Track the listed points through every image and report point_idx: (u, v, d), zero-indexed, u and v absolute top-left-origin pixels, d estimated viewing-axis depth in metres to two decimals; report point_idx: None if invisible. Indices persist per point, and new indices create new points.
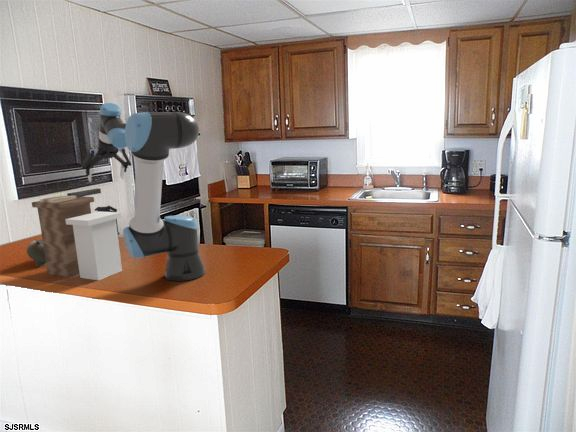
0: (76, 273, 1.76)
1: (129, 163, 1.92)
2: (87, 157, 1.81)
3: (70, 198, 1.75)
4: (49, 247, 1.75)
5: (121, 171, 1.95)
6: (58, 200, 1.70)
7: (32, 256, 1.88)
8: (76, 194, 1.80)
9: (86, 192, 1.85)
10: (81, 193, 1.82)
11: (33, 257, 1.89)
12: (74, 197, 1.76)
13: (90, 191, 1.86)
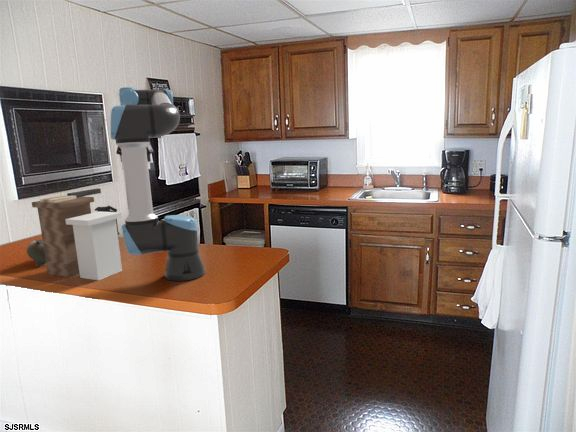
0: (76, 273, 1.76)
1: (148, 150, 1.97)
2: None
3: (70, 198, 1.75)
4: (49, 247, 1.75)
5: None
6: (58, 200, 1.70)
7: (32, 256, 1.88)
8: (76, 194, 1.80)
9: (86, 192, 1.85)
10: (81, 193, 1.82)
11: (33, 257, 1.89)
12: (74, 197, 1.76)
13: (90, 191, 1.86)
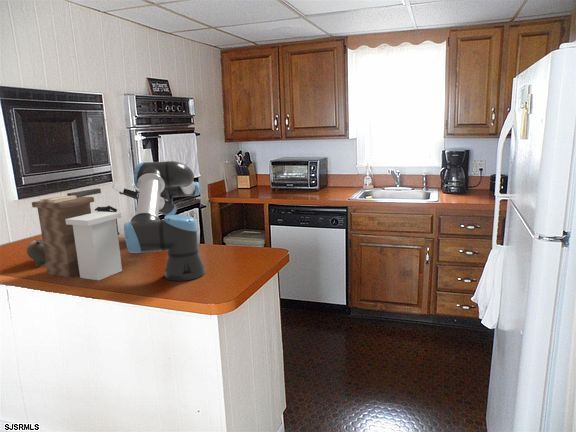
0: (76, 273, 1.76)
1: None
2: None
3: (70, 198, 1.75)
4: (49, 247, 1.75)
5: None
6: (58, 200, 1.70)
7: (32, 256, 1.88)
8: (76, 194, 1.80)
9: (86, 192, 1.85)
10: (81, 193, 1.82)
11: (33, 257, 1.89)
12: (74, 197, 1.76)
13: (90, 191, 1.86)
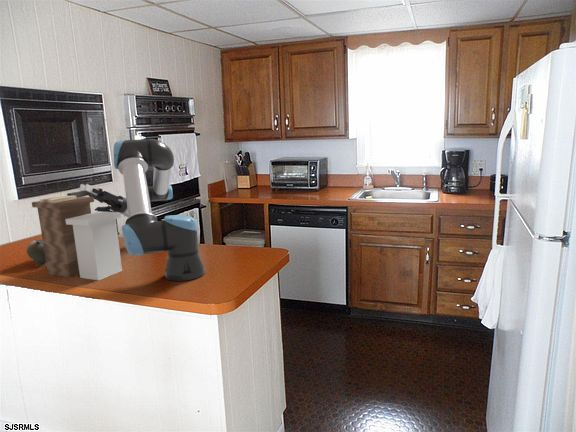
0: (76, 273, 1.76)
1: None
2: None
3: (70, 198, 1.75)
4: (49, 247, 1.75)
5: None
6: (58, 200, 1.70)
7: (32, 256, 1.88)
8: (76, 194, 1.80)
9: (86, 192, 1.85)
10: (81, 193, 1.82)
11: (33, 257, 1.89)
12: (74, 197, 1.76)
13: None
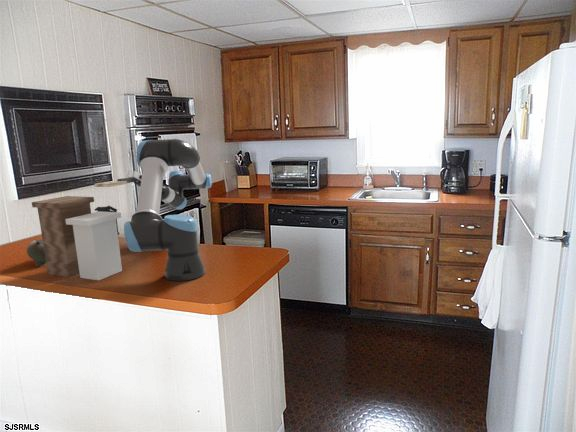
0: (76, 273, 1.76)
1: None
2: None
3: (121, 183, 1.85)
4: (49, 247, 1.75)
5: None
6: (112, 184, 1.81)
7: (32, 256, 1.88)
8: (125, 180, 1.91)
9: (134, 178, 1.96)
10: (130, 179, 1.93)
11: (33, 257, 1.89)
12: (125, 182, 1.87)
13: None
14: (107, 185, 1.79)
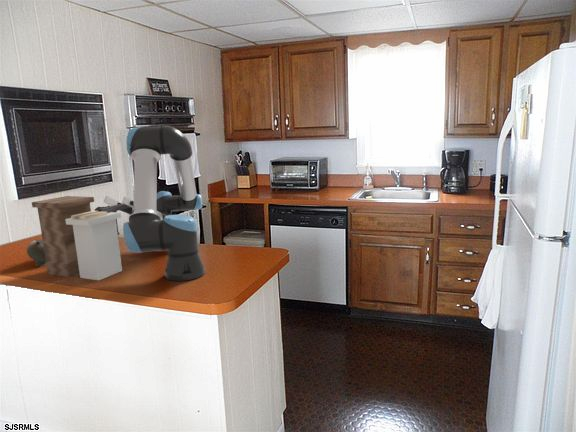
0: (76, 273, 1.76)
1: None
2: None
3: (101, 214, 1.69)
4: (49, 247, 1.75)
5: None
6: (90, 217, 1.64)
7: (32, 256, 1.88)
8: (106, 210, 1.75)
9: (116, 207, 1.79)
10: (111, 208, 1.77)
11: (33, 257, 1.89)
12: (105, 213, 1.71)
13: (120, 206, 1.81)
14: (84, 218, 1.63)
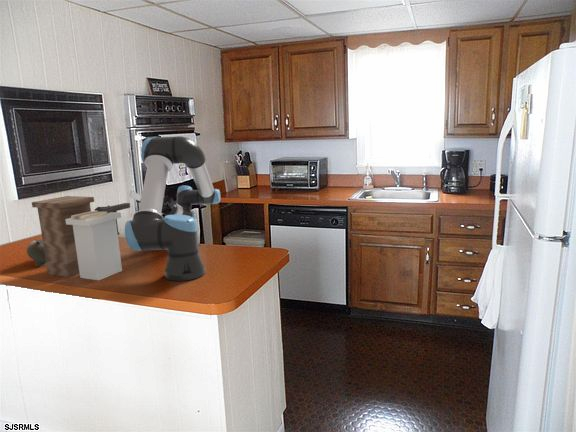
0: (76, 273, 1.76)
1: None
2: None
3: (101, 214, 1.69)
4: (49, 247, 1.75)
5: None
6: (90, 217, 1.64)
7: (32, 256, 1.88)
8: (106, 210, 1.75)
9: (116, 207, 1.79)
10: (111, 208, 1.77)
11: (33, 257, 1.89)
12: (105, 213, 1.71)
13: (120, 206, 1.81)
14: (84, 218, 1.63)
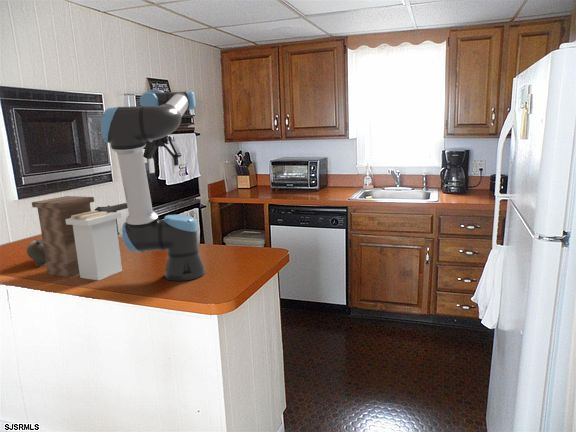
0: (76, 273, 1.76)
1: (176, 154, 1.94)
2: None
3: (101, 214, 1.69)
4: (49, 247, 1.75)
5: None
6: (90, 217, 1.64)
7: (32, 256, 1.88)
8: (106, 210, 1.75)
9: (116, 207, 1.79)
10: (111, 208, 1.77)
11: (33, 257, 1.89)
12: (105, 213, 1.71)
13: (120, 206, 1.81)
14: (84, 218, 1.63)
